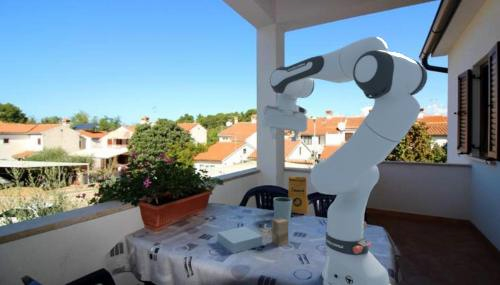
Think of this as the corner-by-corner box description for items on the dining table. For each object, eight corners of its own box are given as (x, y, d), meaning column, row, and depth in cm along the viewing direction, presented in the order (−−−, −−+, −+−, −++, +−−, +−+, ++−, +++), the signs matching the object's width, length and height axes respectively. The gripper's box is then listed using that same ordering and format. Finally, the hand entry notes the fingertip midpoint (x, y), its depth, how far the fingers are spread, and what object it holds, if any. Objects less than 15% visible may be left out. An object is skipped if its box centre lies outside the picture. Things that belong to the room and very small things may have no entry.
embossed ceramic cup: (272, 217, 147) (273, 196, 147) (290, 218, 147) (291, 197, 147) (273, 223, 137) (273, 201, 137) (293, 224, 137) (293, 201, 137)
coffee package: (307, 216, 151) (307, 178, 150) (286, 213, 155) (286, 177, 155) (309, 211, 160) (309, 175, 160) (289, 209, 165) (289, 174, 164)
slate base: (262, 245, 110) (262, 236, 110) (233, 253, 103) (233, 243, 103) (244, 234, 122) (244, 226, 122) (217, 241, 114) (217, 232, 114)
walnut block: (288, 243, 112) (288, 220, 112) (279, 246, 109) (279, 222, 109) (280, 239, 116) (280, 217, 116) (271, 242, 114) (271, 219, 113)
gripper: (267, 102, 107) (264, 136, 105) (310, 110, 114) (308, 142, 112) (261, 106, 112) (258, 137, 111) (302, 113, 120) (300, 143, 118)
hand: (284, 139), depth 112 cm, fingers open, 8 cm apart
